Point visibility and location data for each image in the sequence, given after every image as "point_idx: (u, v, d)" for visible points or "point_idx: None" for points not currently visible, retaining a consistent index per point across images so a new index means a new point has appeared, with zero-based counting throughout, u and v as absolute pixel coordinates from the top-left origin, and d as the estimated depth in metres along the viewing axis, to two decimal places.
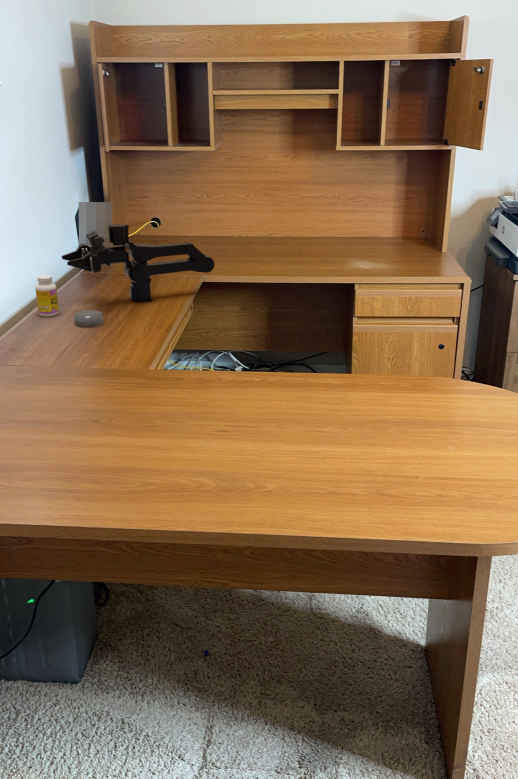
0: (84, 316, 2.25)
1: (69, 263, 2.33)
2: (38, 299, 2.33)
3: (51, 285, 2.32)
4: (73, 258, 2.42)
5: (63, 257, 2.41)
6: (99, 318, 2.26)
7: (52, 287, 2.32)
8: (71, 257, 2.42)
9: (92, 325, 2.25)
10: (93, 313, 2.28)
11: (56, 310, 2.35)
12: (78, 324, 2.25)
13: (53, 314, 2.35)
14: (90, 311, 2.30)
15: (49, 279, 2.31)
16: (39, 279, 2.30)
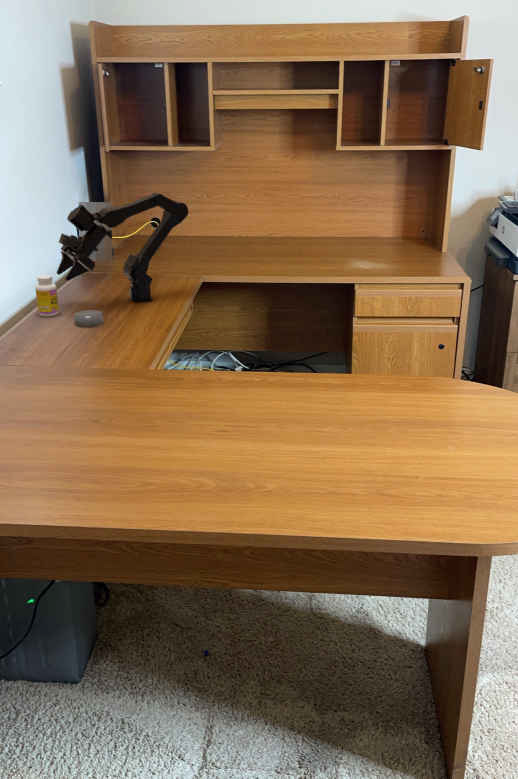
0: (84, 316, 2.25)
1: (67, 278, 2.31)
2: (38, 299, 2.33)
3: (51, 285, 2.32)
4: (66, 266, 2.40)
5: (58, 272, 2.39)
6: (99, 318, 2.26)
7: (52, 287, 2.32)
8: (64, 266, 2.39)
9: (92, 325, 2.25)
10: (93, 313, 2.28)
11: (56, 310, 2.35)
12: (78, 324, 2.25)
13: (53, 314, 2.35)
14: (90, 311, 2.30)
15: (49, 279, 2.31)
16: (39, 279, 2.30)
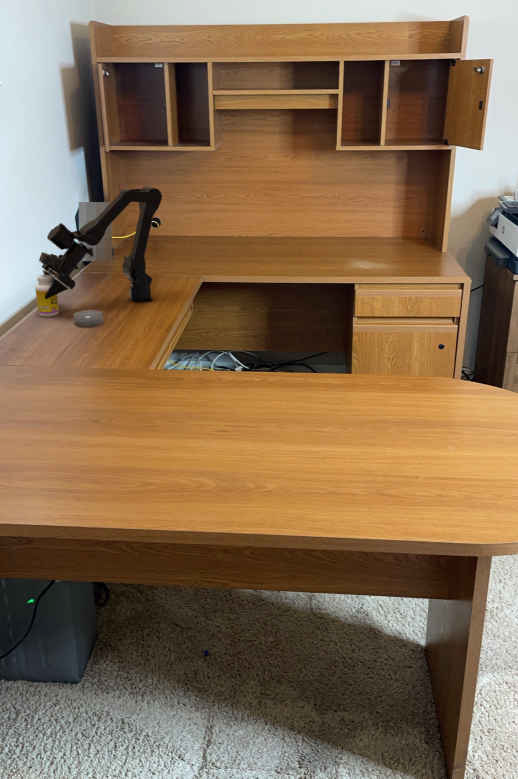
0: (84, 316, 2.25)
1: (47, 296, 2.31)
2: (38, 299, 2.33)
3: None
4: None
5: None
6: (99, 318, 2.26)
7: None
8: None
9: (92, 325, 2.25)
10: (93, 313, 2.28)
11: (56, 310, 2.35)
12: (78, 324, 2.25)
13: (53, 314, 2.35)
14: (90, 311, 2.30)
15: (49, 279, 2.31)
16: (39, 279, 2.30)
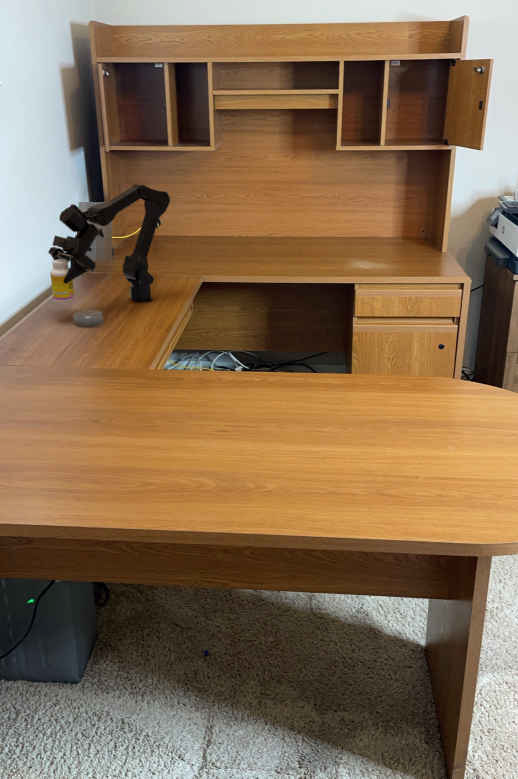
0: (84, 316, 2.25)
1: (66, 281, 2.24)
2: (55, 285, 2.24)
3: (68, 269, 2.25)
4: None
5: None
6: (99, 318, 2.26)
7: None
8: None
9: (92, 325, 2.25)
10: (93, 313, 2.28)
11: (73, 295, 2.29)
12: (78, 324, 2.25)
13: (71, 299, 2.28)
14: (90, 311, 2.30)
15: (66, 263, 2.24)
16: (56, 264, 2.22)
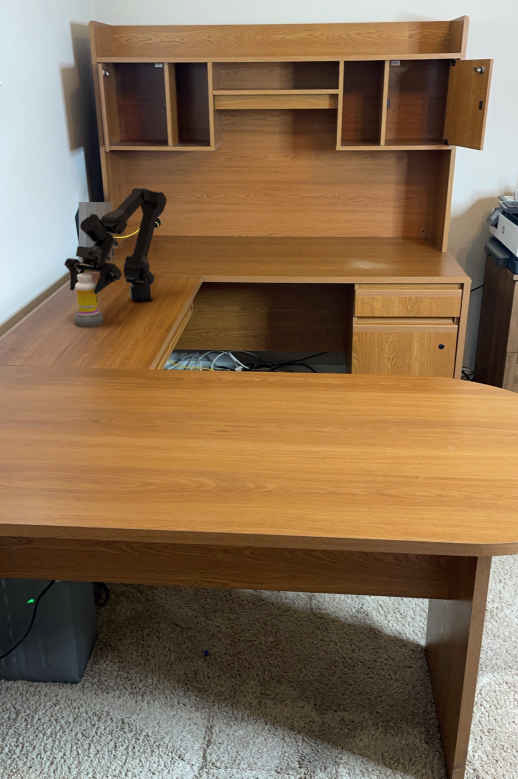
0: None
1: (96, 292, 2.21)
2: (83, 299, 2.22)
3: (93, 282, 2.24)
4: (76, 280, 2.27)
5: (72, 288, 2.25)
6: (99, 318, 2.26)
7: (95, 284, 2.24)
8: (75, 281, 2.26)
9: (92, 325, 2.25)
10: None
11: (98, 308, 2.27)
12: (78, 324, 2.25)
13: (97, 312, 2.26)
14: None
15: None
16: (83, 278, 2.20)
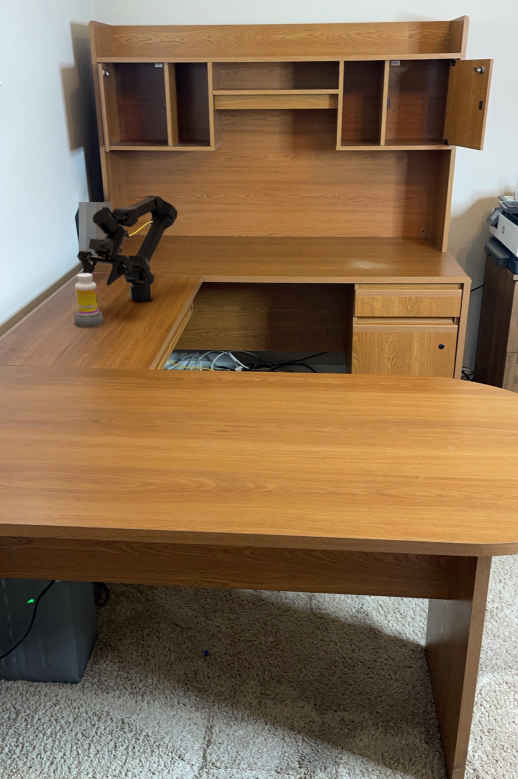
0: None
1: (109, 283, 2.27)
2: (83, 299, 2.22)
3: (93, 282, 2.24)
4: (89, 272, 2.32)
5: None
6: (99, 318, 2.26)
7: (95, 284, 2.24)
8: None
9: (92, 325, 2.25)
10: None
11: (98, 308, 2.27)
12: (78, 324, 2.25)
13: (97, 312, 2.26)
14: None
15: (92, 276, 2.23)
16: (83, 278, 2.20)
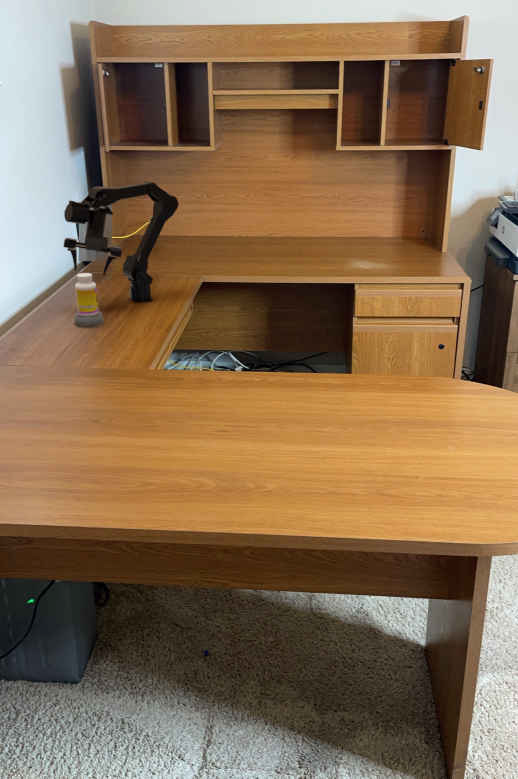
0: None
1: (104, 273, 2.39)
2: (82, 299, 2.22)
3: (93, 282, 2.24)
4: None
5: None
6: (99, 318, 2.26)
7: (95, 284, 2.24)
8: None
9: (92, 325, 2.25)
10: None
11: (98, 308, 2.27)
12: (78, 324, 2.25)
13: (97, 312, 2.26)
14: None
15: None
16: (83, 278, 2.20)
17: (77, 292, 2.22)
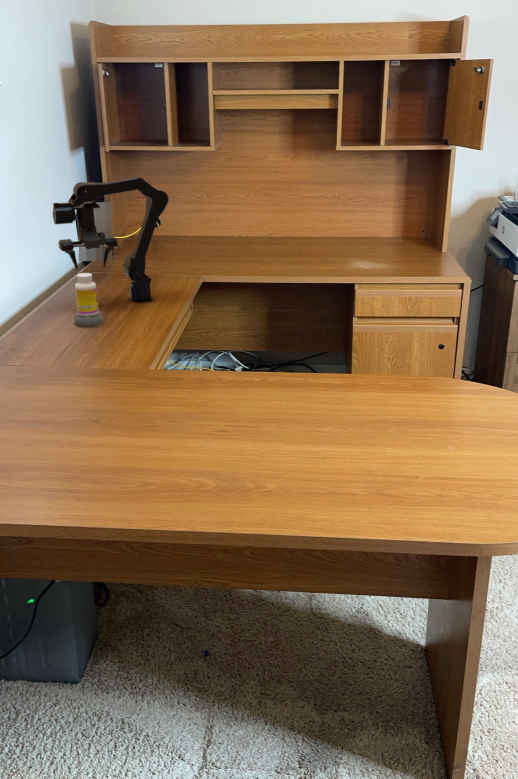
0: None
1: None
2: (82, 299, 2.22)
3: (93, 282, 2.24)
4: None
5: None
6: (99, 318, 2.26)
7: (95, 284, 2.24)
8: None
9: (92, 325, 2.25)
10: None
11: None
12: (78, 324, 2.25)
13: (97, 312, 2.26)
14: None
15: (91, 276, 2.23)
16: (83, 278, 2.20)
17: (77, 292, 2.22)
